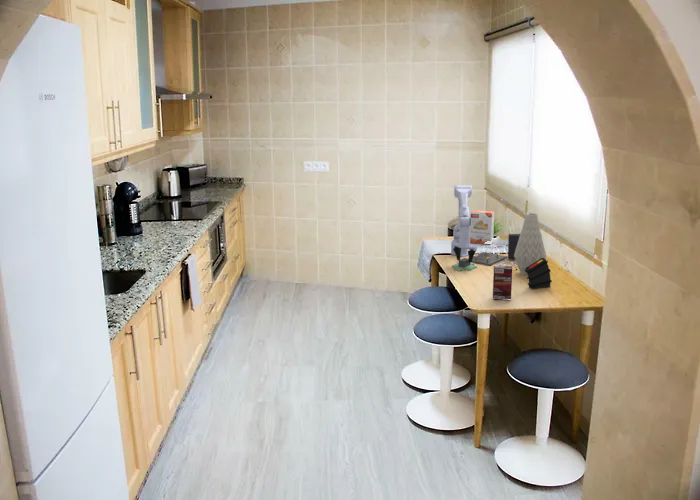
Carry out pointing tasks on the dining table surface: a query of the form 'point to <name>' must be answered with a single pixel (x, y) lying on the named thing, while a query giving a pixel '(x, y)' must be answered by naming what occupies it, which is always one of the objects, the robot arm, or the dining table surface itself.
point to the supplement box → (502, 282)
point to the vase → (529, 243)
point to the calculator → (512, 245)
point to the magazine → (538, 274)
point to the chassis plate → (488, 258)
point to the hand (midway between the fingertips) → (464, 261)
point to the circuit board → (464, 265)
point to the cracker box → (481, 226)
